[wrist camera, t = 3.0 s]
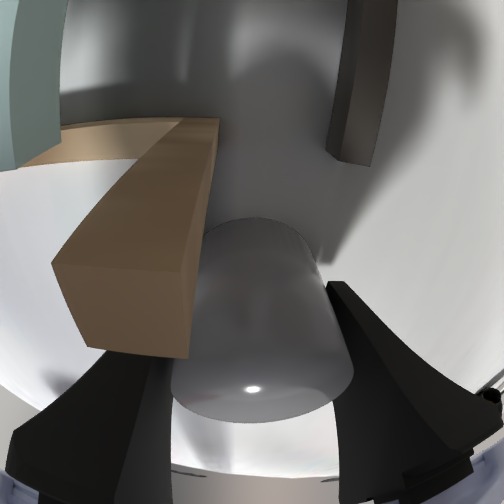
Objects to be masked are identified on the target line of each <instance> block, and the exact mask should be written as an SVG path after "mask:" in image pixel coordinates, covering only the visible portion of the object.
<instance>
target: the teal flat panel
mask: <svg viewBox="0 0 504 504" xmlns="http://www.w3.org/2000/svg"><path fill="white" fill-rule="evenodd" d="M67 4H68V0H0V172H3V171H9V170H16V169H18V168H19V167H21V166H22V165H24V164H25V163H27V162H29V161H30V160H32V159H33V158H35V157H37V156H38V155H40V154H42V153H44V152H45V151H47V150H49V149H51V148H52V147H54V146H56V145H58V144H60V143H61V142H62V141H61V127H60V99H59V87H60V60H61V47H62V37H63V29H64V22H65V15H66V9H67Z"/></svg>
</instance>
